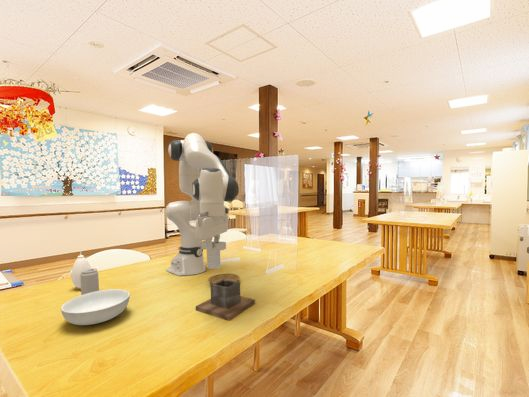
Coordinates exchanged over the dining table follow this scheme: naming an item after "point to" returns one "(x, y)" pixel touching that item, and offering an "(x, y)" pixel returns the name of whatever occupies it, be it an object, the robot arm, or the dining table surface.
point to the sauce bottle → (79, 270)
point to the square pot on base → (225, 300)
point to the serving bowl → (95, 306)
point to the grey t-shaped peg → (213, 253)
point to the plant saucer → (223, 276)
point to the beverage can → (89, 281)
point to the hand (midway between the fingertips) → (213, 247)
